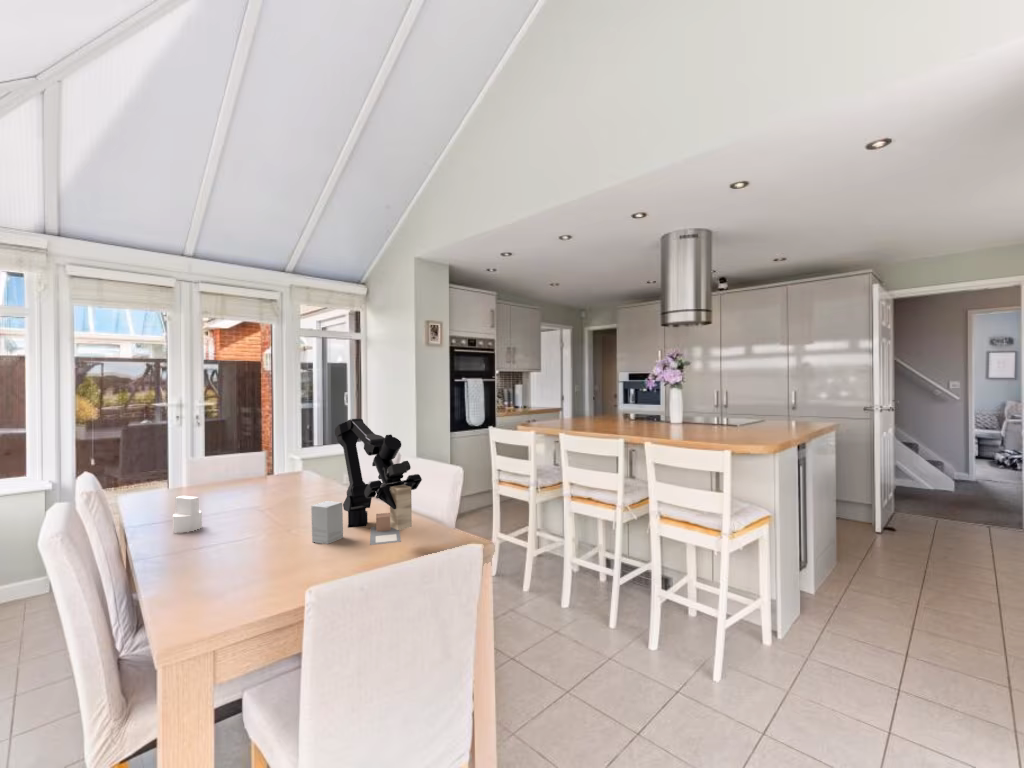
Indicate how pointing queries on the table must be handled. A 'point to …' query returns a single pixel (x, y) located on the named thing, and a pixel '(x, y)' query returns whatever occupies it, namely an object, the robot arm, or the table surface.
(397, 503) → the beech post
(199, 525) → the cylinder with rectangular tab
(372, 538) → the mat
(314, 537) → the supplement box
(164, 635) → the table surface
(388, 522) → the terracotta block
